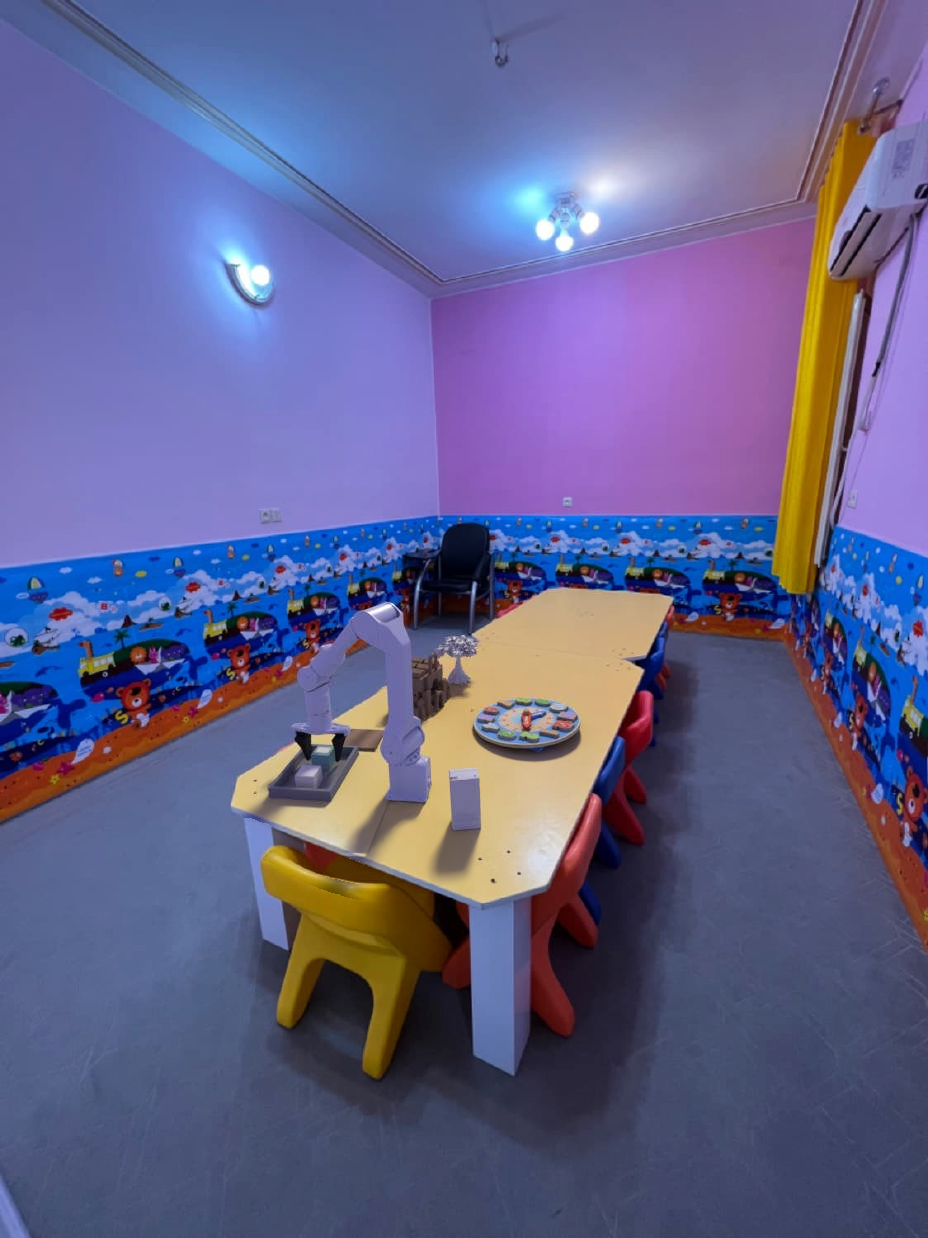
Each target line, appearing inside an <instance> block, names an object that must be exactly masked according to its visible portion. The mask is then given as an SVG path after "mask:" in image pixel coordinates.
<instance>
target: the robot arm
mask: <svg viewBox="0 0 928 1238" xmlns="http://www.w3.org/2000/svg"><path fill="white" fill-rule="evenodd" d="M359 640H362V641H364V642H365V643H367V644H369V645H371V647H374V648H376V649H377V650H381V651H382V652H383V653H384V654H385V656H384V659H385V676H386V692H387V693H386V694H387V709H388V711H387V712H388V721H387V723H386V725H385V726H384V727H385V728H384V729H383V730H384V732H383V738H382V740H381V742H380V744H379V745H380V747H379V749H380V754H381V756H382V758H383V759H384V760H385V762H386V763H387V764H388V765H387V766H388V778H389V787H388V789H387V791H386V794H385V797H384V799H385V800H388V801H393V802H395V801H396V802H409V803H410V802H411V803H413V802H414V803H426V802H427V800H428V797H429V794H430V790H431V787H432V783H433V781H432V766H431V763H432V761H431V758H430V756H427V755H423V754H421V753H420V752H421V746H423V744H425V739H426V734H425V732H424V730H423V727H422V720H421V719H419V718H417V717H415V716H414V713H413V688H412V662H411V659H412V643H411V639H410V637H409V634H408V632H407V629H406V627H405V625H404V612H402V611H401V610H400V609H399V608H398V607H397V605H395V604H394V603H392V602H389V601H383V602H381V603H379V604H377V605H375V606H372V607H369V608H367V609H364V610H359V611H356V613H355V614H354V615H353V617H350V618H349V619H348V623H347V624H346V625H345V627H344V628H343V630H342V631H341V633H340V634H339V635H338V636H337V637H336V639H335V641H333V643H328V644H324V645H321V646H320V647H319V648H318V653H317V654H316V655H315V656H314V657H312V658H310V659H309V662H310V663H309V664H308V665H307V666H302V667H301V668H299V669H298V671H297V673H296V679H297V683H298V685H299V686H300V687H301V689H303V692H304V693H303V694H304V700H305V709H306V719H307V722H300V723H299V722H298V723H297V722H295V723H293V724H292V725H291V726H290V729H291V734H292V735H295V736H294V739H293V740H294V742H295V743H296V744H297V745H298V746H299V748H300V749H302V751H303V753H304V755H305V757H306V760H307V761H309V760H310V759H311V754H312V745H311V744H312V735H313V736H322V735H334V736H333V737H332V739H331V740H330V741H331V743H332V744H331V745H333V747H334V751H335V761H336V762H339V761H340V759H341V755H342V749H343V745H344V742H345V739H346V736H349V734H350V733H351V731H350V730H351V725H346V724H343V723H342V724H341V723H338V722H334V721H333V719H332V718H333V717H332V707H331V698H330V697H331V696H330V688H331V682H332V680H333V677H334V673H335V672H336V671H337V670H338V669H339V668H340V667H341V665H342V664H343V663H344V662H345V660H346V654H345V653H347V651H348V650H350V648H352V646H354V644H356V643H357V642H358V641H359Z"/></svg>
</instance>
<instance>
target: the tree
mask: <svg viewBox="0 0 928 1238" xmlns="http://www.w3.org/2000/svg"><path fill="white" fill-rule="evenodd" d="M444 639H445V641H443V642H441V643H440V644H438V647H435V648H434V649H433V651H434V653H436V654H437V658H438V660H439V659H440V658H443V657H444V656H445V654H447V655H448V656H449V657H451V658H452V659H453V658H455V659H456V661H455V665H454V667H453V669H452V671H450V672H449V674H448V676H447V679H446V682H449V683H450V685H452V684H454V685H455V684H456V685H463V684H465V685H467V682H468V683H469V682H471V678H472V677H470V676H469V675H468V674H467V673H466V672H465V670H464V669H463V666H462V662H461V658H462V657H463V658H472V656H476V655H477V654H478V651H477V647H478V646H479V645H478V644H479V642H475V641H474V640H475V639H474V638H472V637H468V636H467V637H466V636H465V635H460V636H457V635H449V636H444Z"/></svg>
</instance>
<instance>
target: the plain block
mask: <svg viewBox="0 0 928 1238" xmlns="http://www.w3.org/2000/svg"><path fill="white" fill-rule="evenodd" d="M322 781H323V778H322V769H321V766H317V765H303V766H302V767H301V768H300V769H299V771H298V772H297V773H296V775H295V782H296V788H315V789H317V788H318V787H319V785H320V784H321V782H322Z"/></svg>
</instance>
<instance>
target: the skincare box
mask: <svg viewBox="0 0 928 1238" xmlns="http://www.w3.org/2000/svg"><path fill="white" fill-rule="evenodd" d="M448 779H449V780H448V781H449V795H450V796H449V797H450V811H451V812H450V813H451V816H450V817H451V825H452V827H451V828H452V831H463V830H475V829H481V828H482V818H481V817H482V816H481V815H482V814H481V813H482V812H481V789H480V784H481V783H480V776H479V772H478V768H477V767H469V768H455V769H454V768H453V769H449V770H448Z"/></svg>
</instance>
